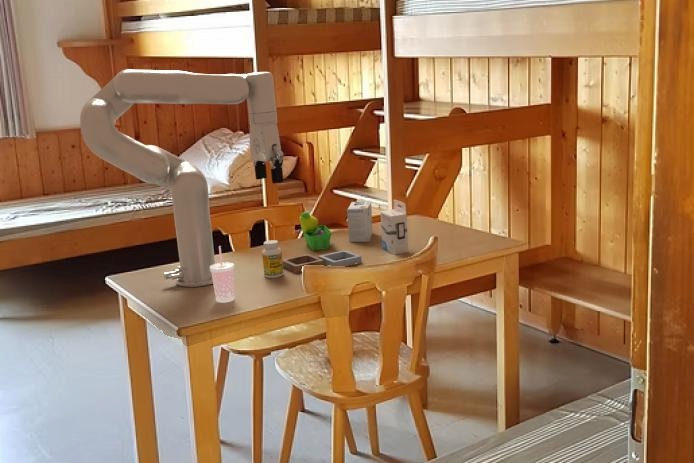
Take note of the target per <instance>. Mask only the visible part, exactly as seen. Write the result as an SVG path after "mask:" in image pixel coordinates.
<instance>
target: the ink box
mask: <svg viewBox="0 0 694 463" xmlns="http://www.w3.org/2000/svg"><path fill="white" fill-rule="evenodd" d="M400 206H401V207H400ZM406 206H407V205H406V203H404V202H403V201H400V200H397V199H393V209H386V210H385V209H384V210H380V224H381V228H380V230H381V246H382V249H383V250H384V251H386V252H389V253H390V254H392V255H400V254H407V253H409V238H408V237H409V236H408V220H407V218H408V217H407V207H406Z"/></svg>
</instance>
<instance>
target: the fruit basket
mask: <svg viewBox="0 0 694 463" xmlns="http://www.w3.org/2000/svg"><path fill="white" fill-rule="evenodd" d="M299 215H300V216H299V218H298V219H299V222H300V227H301V228H300V229H301V231H302V233H303V236H304V239H305V242H306V245H308V247H309V248H310V249H311V251H315V250H316V251H317V250H325V249H329V248H330V243H331V236H332V231H331V230H330V229H329V228H328V227H327V226H326V225H322V224H321V225H318V223H319V220H318V218H317V217H315V216H314V215H311V214H310V213H309V212H307V211H304V212H301V213H300V214H299Z"/></svg>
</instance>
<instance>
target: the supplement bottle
mask: <svg viewBox="0 0 694 463" xmlns="http://www.w3.org/2000/svg"><path fill="white" fill-rule="evenodd" d="M263 248H264V249H262V251H261V254H262V255H261V256H262V264H263V265H262V266H263V273H264V274H263V275H264V277H266V278H268V279H274V278H275V279H276V278H280V277H282V276H283V275H284V268H283V262H282V260H283V253H282V249H281V248H280V247H279V241H278V240H276V239H275V240H274V239H273V240H271V239H270V240H266V241H264V242H263Z"/></svg>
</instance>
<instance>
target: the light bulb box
mask: <svg viewBox="0 0 694 463" xmlns="http://www.w3.org/2000/svg"><path fill="white" fill-rule="evenodd" d="M346 216H347V230H348V243H349V242H350V243H353V242H360V243H361V242H370V240H371V237H372V235H373V233H374V231H373V230H374V228H373V215H372V201H371V200H370V201H369V200H367V201H351V202H350V205H349V206H348V208H347V209H346Z"/></svg>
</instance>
